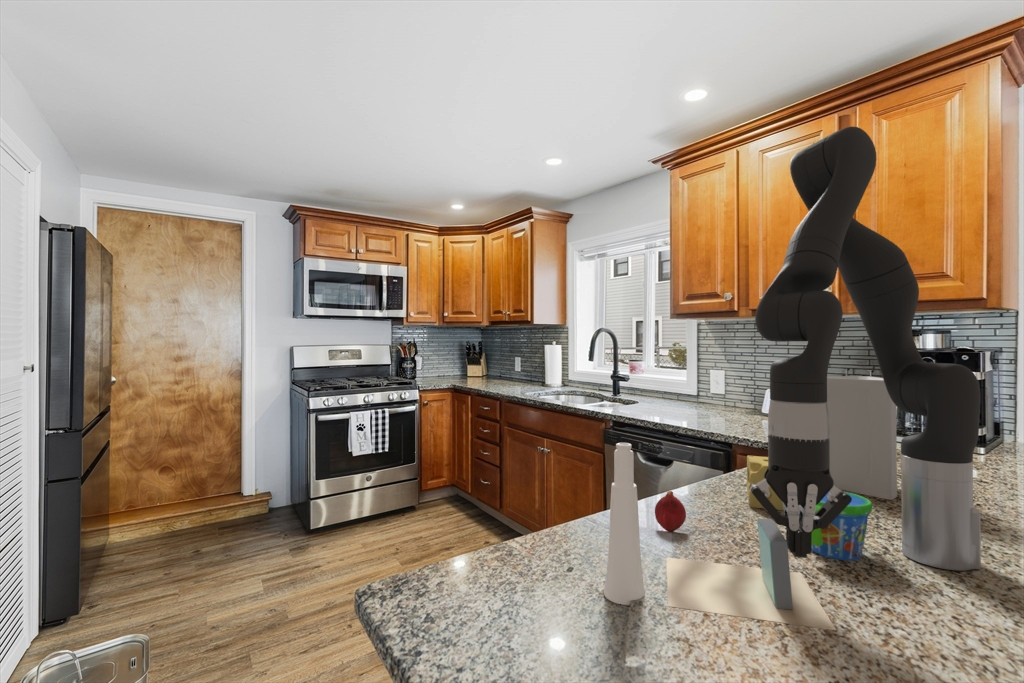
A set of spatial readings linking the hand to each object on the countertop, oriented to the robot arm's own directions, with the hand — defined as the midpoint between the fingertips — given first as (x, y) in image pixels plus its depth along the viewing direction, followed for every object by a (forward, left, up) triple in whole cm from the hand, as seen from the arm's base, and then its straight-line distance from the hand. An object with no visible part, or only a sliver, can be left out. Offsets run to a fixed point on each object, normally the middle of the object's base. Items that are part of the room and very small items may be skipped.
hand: (798, 555), depth 69 cm
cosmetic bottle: (+24, +5, -7) cm, 25 cm away
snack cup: (-10, -19, -7) cm, 23 cm away
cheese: (-6, -47, -7) cm, 48 cm away
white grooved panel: (-30, -69, -7) cm, 76 cm away
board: (+8, 0, -7) cm, 10 cm away
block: (+3, 0, -6) cm, 6 cm away
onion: (+17, -22, -7) cm, 29 cm away
